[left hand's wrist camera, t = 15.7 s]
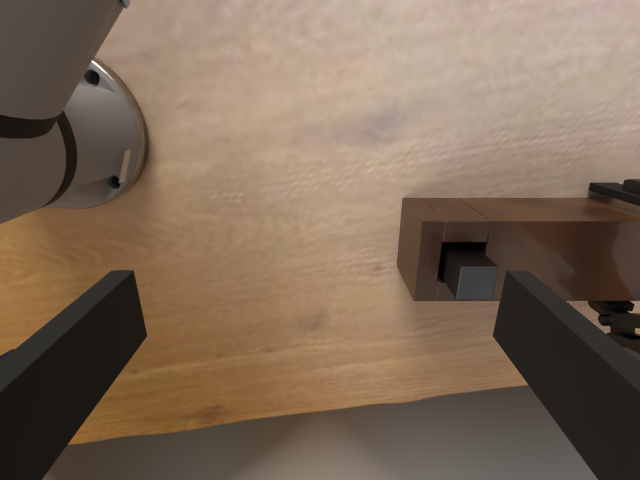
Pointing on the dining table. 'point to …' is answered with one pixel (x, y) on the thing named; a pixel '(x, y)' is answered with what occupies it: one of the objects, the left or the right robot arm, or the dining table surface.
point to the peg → (467, 271)
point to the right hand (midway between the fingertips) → (588, 234)
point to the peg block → (527, 243)
